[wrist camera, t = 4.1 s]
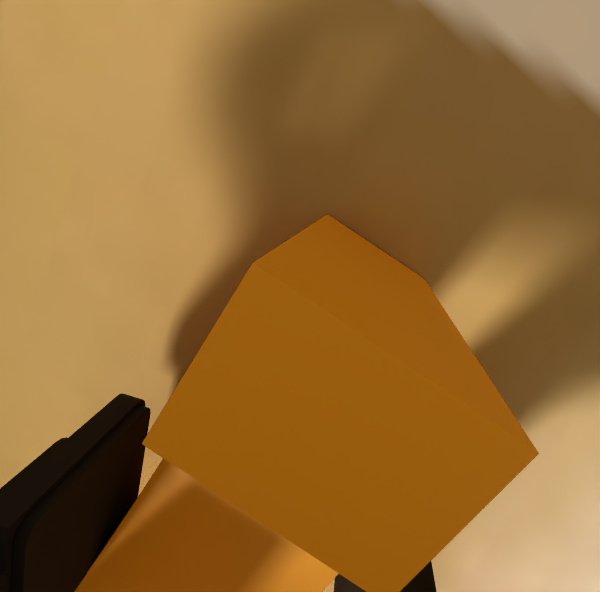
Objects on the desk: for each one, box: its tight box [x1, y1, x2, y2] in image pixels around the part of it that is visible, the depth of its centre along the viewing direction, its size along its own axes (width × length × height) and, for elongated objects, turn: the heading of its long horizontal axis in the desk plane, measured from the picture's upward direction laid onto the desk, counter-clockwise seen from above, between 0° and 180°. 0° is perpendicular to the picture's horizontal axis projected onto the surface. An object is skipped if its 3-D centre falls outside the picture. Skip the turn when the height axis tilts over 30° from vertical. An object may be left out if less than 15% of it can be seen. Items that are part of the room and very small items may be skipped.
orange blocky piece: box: [75, 214, 539, 592], centre depth 8 cm, size 12×4×6 cm, turn 147°
